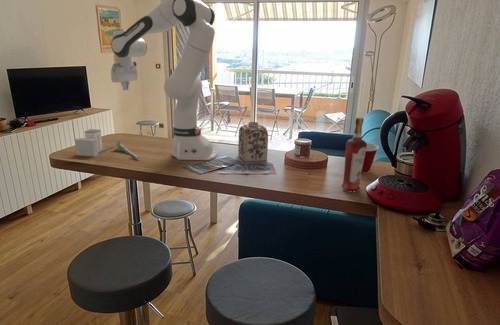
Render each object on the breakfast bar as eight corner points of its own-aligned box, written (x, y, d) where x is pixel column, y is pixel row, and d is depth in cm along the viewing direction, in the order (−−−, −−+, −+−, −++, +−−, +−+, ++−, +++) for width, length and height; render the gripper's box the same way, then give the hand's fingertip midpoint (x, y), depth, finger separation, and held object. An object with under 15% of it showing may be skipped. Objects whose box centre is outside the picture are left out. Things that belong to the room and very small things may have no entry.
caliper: (116, 152, 166) (115, 140, 164) (118, 151, 167) (117, 139, 165) (138, 160, 154) (137, 148, 152) (140, 160, 155) (139, 147, 153)
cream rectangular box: (103, 150, 163) (100, 129, 160) (97, 153, 158) (94, 132, 155) (93, 149, 164) (91, 129, 160) (87, 152, 159) (84, 131, 156)
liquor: (350, 185, 131) (359, 115, 122) (364, 191, 125) (375, 119, 116) (336, 188, 127) (344, 116, 119) (350, 195, 121) (360, 120, 113)
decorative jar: (244, 162, 155) (245, 125, 150) (237, 155, 166) (238, 120, 160) (268, 160, 159) (269, 124, 153) (259, 154, 169) (261, 119, 164)
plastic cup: (345, 171, 147) (349, 145, 144) (355, 165, 155) (359, 141, 151) (369, 177, 141) (373, 150, 137) (378, 171, 148) (382, 145, 145)
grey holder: (120, 149, 170) (118, 132, 167) (99, 159, 153) (97, 140, 151) (95, 147, 172) (93, 130, 170) (72, 157, 155) (70, 138, 153)
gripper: (118, 63, 160) (120, 92, 164) (138, 63, 179) (140, 88, 184) (106, 63, 161) (109, 91, 165) (127, 62, 180) (130, 88, 185)
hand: (125, 90), depth 175 cm, fingers closed
